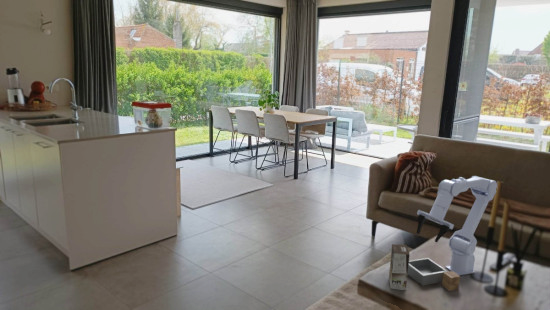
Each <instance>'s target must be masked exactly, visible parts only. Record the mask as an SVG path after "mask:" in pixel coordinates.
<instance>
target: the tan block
mask: <svg viewBox="0 0 550 310" xmlns="http://www.w3.org/2000/svg"><path fill="white" fill-rule="evenodd" d="M460 280H461V275H457V274H456V273H454V272H453V271H450V270H449V271H448V272H444V273H443V281H442V282H441V286H442V287H443V288H445V289H446V290H448V291H449V292H451V291H457V290H458V291H459V288H460Z"/></svg>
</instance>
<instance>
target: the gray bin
mask: <svg viewBox="0 0 550 310" xmlns="http://www.w3.org/2000/svg"><path fill="white" fill-rule="evenodd" d="M444 272H449V270H448V269H447V268H446V269H445V268H444V267H443V266H441V265H440V264H438V263H436V261H434V260H432V259H431V258H430V257H424V258H416V259H411V260H410V259H409V265H408V274H407V276H409V277H411V278H412V279H413V280H415V281H416V282H417V283H418V284H419V285H421V286H426V285H432V284H433V285H434V284H438V283H442V281H443V273H444Z"/></svg>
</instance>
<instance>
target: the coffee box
mask: <svg viewBox="0 0 550 310" xmlns="http://www.w3.org/2000/svg"><path fill="white" fill-rule="evenodd" d="M410 255H411V254H410V251H409V249H408V246H407V244H393V243H392V244H391V250H390V263H389V273H388V274H389V275H388V281H389V286H390V287H389V288H390V289H393V290H400V291H406V290H407V281H408V265H409V261H410Z"/></svg>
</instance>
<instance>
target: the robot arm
mask: <svg viewBox="0 0 550 310" xmlns="http://www.w3.org/2000/svg"><path fill="white" fill-rule="evenodd" d="M496 188H497V189H498V183H497V181H496V180H494V179H488V178H485V177H481V176H477V175H472V176H471V177H470V178H467V179H466V178H465V177H462V176H458V178H456V179H455V178H452V179H451V180H449V179H444V180H441V182H440V183H439V185H438V189H437V192H436V193H437V196H436V199H435V200H434V203H433V205H432V207H431V210H430V211H429V213H428V212H426V211H423V210H421V209H418V210H417V212H416V214H417V230H416V234H417V235H420V233H421V231H422V228H423V226H424V225H425V222H426V220H430V221H432V222H434V223H437V224H439V225H440V228H439V232H438V233H437V236H436V238H435V239H434V242H435V243H438V242H439V240H440V239H441V238H442V237H443V236H444V235H445V234H446V233H448V232H449V231H450V230H453V229H454V226H455V224H453V223H451V222H449V221H447V220H444V219H445V217H446V214H447V212H448V209H449V208H450V206H451V203H452V202H453V199H454V197H457V196H458V195H459V194H460V193H464V192H467V191H468V190H469V189H470V190H471V193H472V195H473V196H474V197H475V201H474V202H473V205H472V207H471V209H470V211H469V213H468V215H467V217H466V219H465V221H464V224H463V225H462V228H461V229H459V230H456V231H454V232H453V234H452V236H450V238H449V239H448V246H449V248H450V251H451V258H450V265H446V266H445V268H446V270H448V271H449V272H450V271H453V272H454V273H456V274H457V275H459V276H464V275H468V274H469V275H470V274H475V271H474V267H475V262H476V260H475V259H476V258H475V255H474V252H475V251H476V245H477V244H478V241H477V238H476V237H475V235H474V234H475V232H476V229H477V227H478V225H479V223H480V221H481V219H482V217H483V214H484V213H485V210H486V209H487V207H488V205H489V202H491V201H493V199H494V197H495V195H496V193H497V191H496Z"/></svg>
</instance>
